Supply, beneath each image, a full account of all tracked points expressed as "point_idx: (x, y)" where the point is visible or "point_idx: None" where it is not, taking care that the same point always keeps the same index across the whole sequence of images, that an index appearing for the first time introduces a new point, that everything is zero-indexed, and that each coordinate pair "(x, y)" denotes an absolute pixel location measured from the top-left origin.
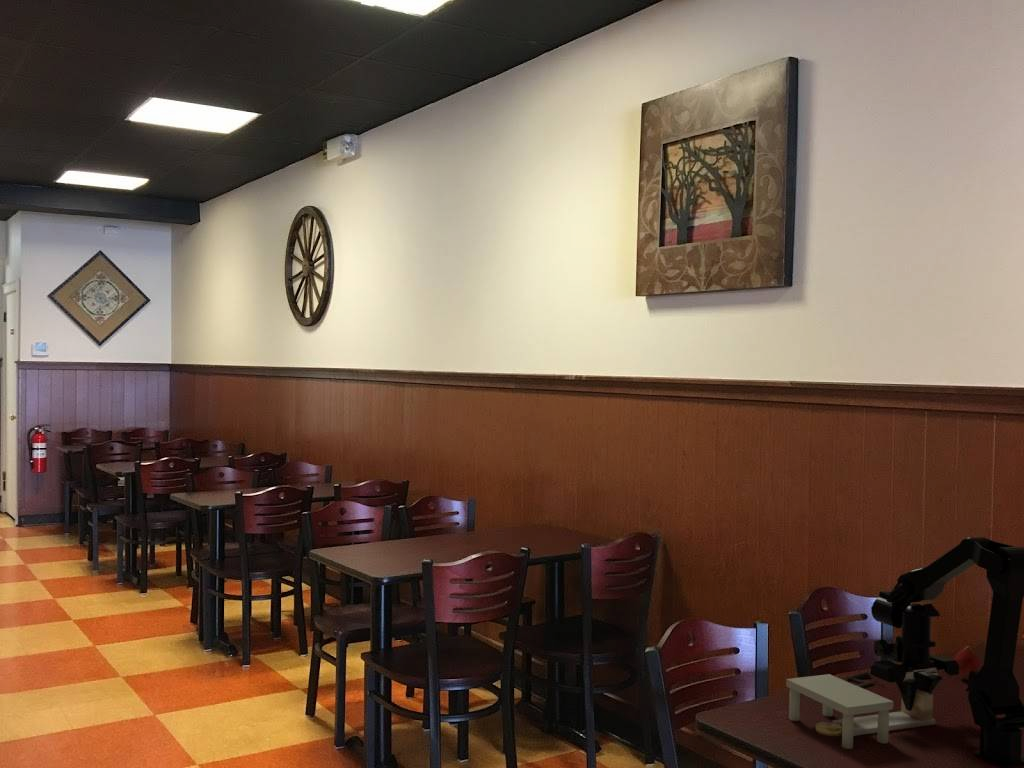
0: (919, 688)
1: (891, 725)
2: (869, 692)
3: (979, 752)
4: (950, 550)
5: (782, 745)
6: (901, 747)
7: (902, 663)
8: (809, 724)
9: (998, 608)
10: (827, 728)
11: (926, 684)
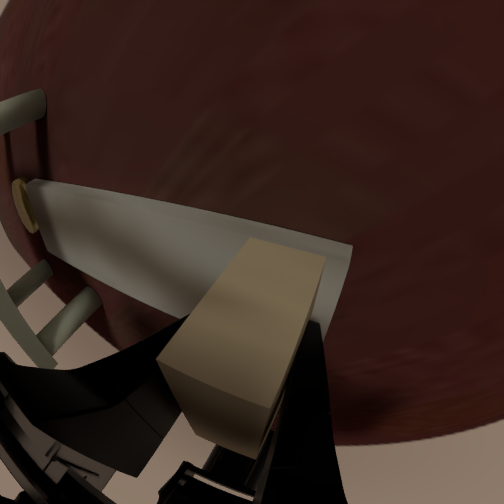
0: (274, 442)
1: (120, 290)
2: (2, 322)
3: None
4: None
5: (3, 212)
6: (116, 328)
7: (25, 497)
8: (15, 154)
9: None
10: (21, 214)
11: (257, 491)
